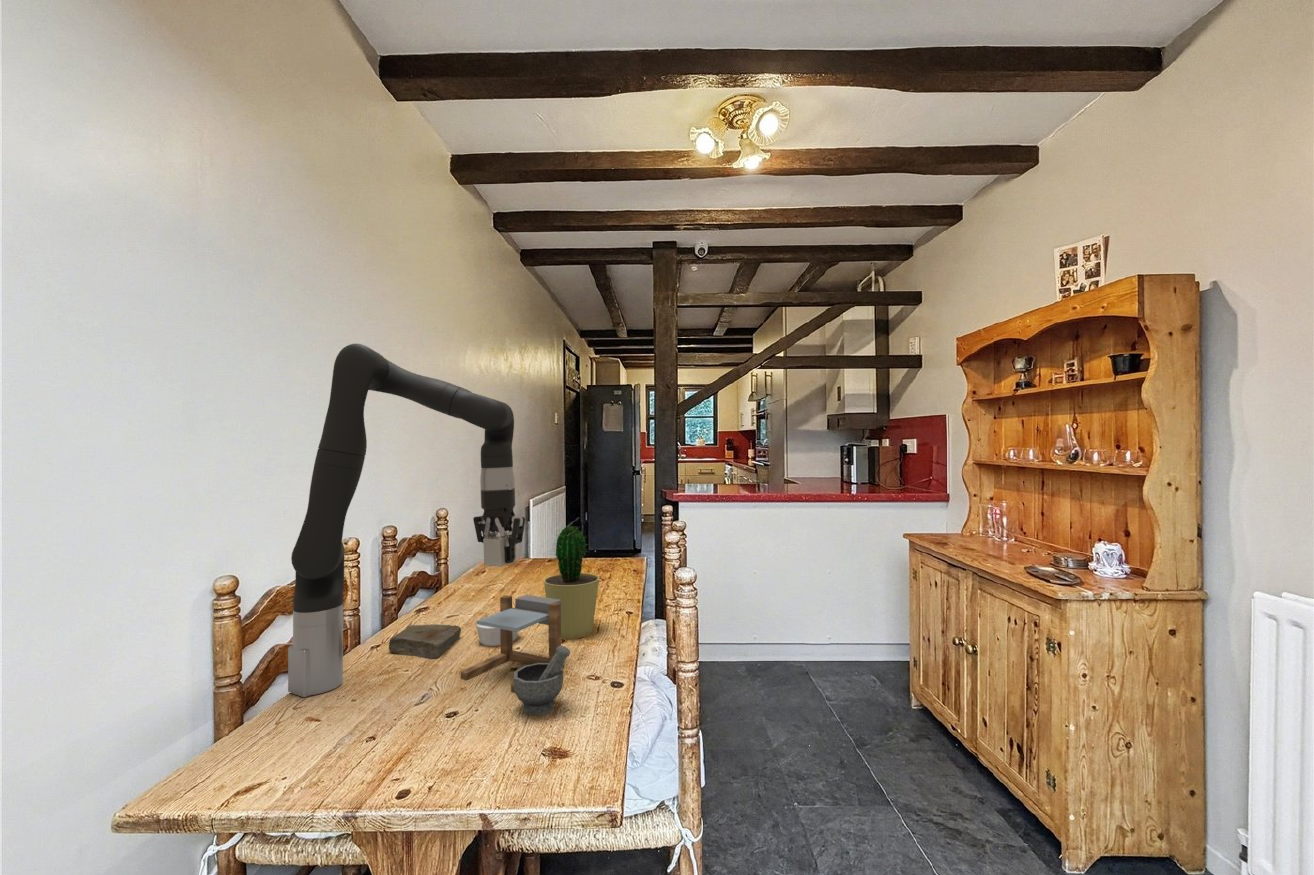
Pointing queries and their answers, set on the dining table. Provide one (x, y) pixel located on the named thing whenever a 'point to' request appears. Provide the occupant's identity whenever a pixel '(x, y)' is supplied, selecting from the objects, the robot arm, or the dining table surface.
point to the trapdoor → (521, 614)
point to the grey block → (495, 551)
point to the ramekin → (491, 635)
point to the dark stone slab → (425, 640)
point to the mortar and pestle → (540, 683)
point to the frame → (507, 643)
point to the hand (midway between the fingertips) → (500, 561)
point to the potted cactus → (573, 585)
